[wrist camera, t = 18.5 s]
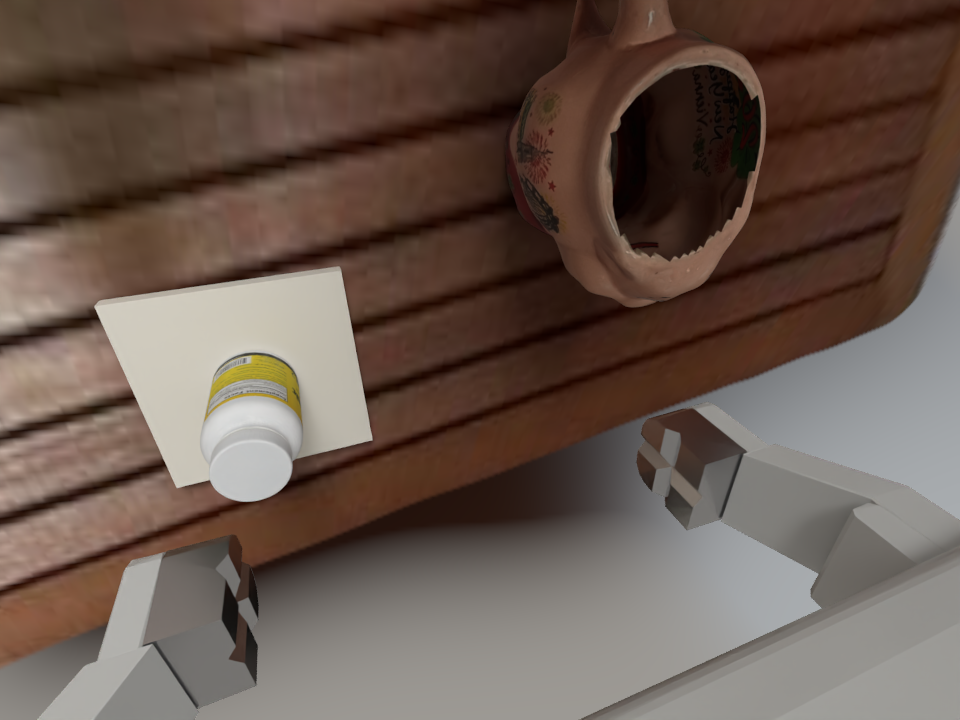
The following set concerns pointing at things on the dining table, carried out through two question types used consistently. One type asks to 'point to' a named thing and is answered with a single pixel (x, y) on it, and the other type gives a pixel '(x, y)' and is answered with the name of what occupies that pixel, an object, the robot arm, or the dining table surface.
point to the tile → (225, 332)
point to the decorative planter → (639, 153)
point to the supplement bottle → (252, 425)
